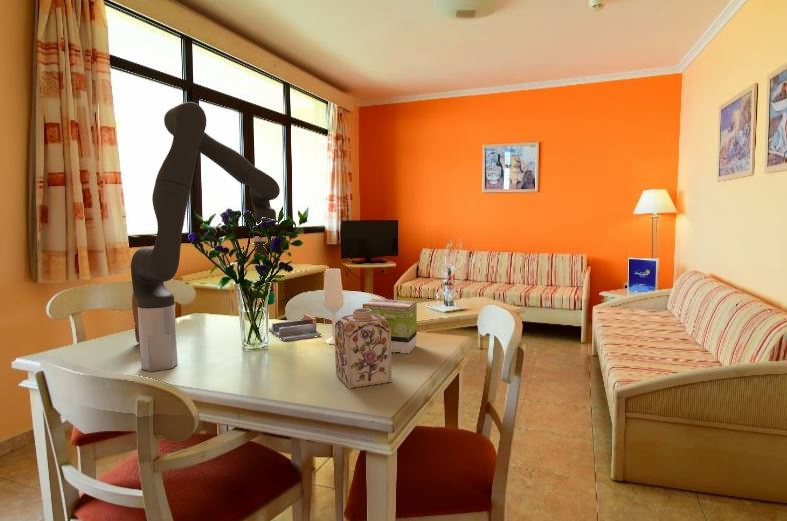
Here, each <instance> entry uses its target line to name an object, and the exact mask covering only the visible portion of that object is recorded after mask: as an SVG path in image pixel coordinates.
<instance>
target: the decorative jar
mask: <svg viewBox="0 0 787 521" xmlns="http://www.w3.org/2000/svg"><path fill="white" fill-rule="evenodd" d="M334 354H335V355H334V360H335V372H336V373H335V375H336V376H337V377H338V378H339V379H340V380H341V381H342V382H343V384H344V385H345V386H346V387H347V389H349V388H350V389H355V388H354V387H356V388H361V386H363V387H368V385H370V386H376V385H375V384H377V385H382V384H381V383H383V384H388V383H387V382H389V383H391V382H392V371H393V370H392V358H393V357H392V352H391V330H390V327H389V325H388V323H387V320H386V318H384V317H383V316H380V315H375V314H372V310H371V309H367V308H363V307H360V308H355V309H353V311H352V314H349V315H344V316H342V317H340V318H338V320H337V321H336V325H335V345H334Z"/></svg>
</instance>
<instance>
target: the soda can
mask: <svg viewBox="0 0 787 521" xmlns="http://www.w3.org/2000/svg"><path fill="white" fill-rule="evenodd" d="M259 278H260V276H259V275H258V279H259ZM275 289H276V287H275V282H273V291H272V292H270V295H269V300H268V305H270V306H271V305H273V304H275V303H276V297H275V296H276V290H275ZM268 305H267V306H268Z"/></svg>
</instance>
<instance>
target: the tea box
mask: <svg viewBox="0 0 787 521" xmlns="http://www.w3.org/2000/svg"><path fill="white" fill-rule="evenodd" d="M417 303H418V302H417V301H413V300H400V299H397V300H396V299H385V298H384V299H383V298H382V299H381V298H371V299H370V300H369V301H367V302H365V303H363V304H362V308H367V309H371V310H372V314H375V315H380V316H383V317H384V318H386V320H387V323H388V325H389V327H390V330H391V353H395V352H400V353H399V354H403V353H408V354H410V352H411V351H412V350H413V349H414V348H415V347H416V346H417V335H418V334H417V332H418V331H417V330H418V329H417V323H418V322H417V321H418V320H417V318H418V316H417V315H418V314H417V313H418V312H417V310H418V309H417V308H418V307H417V306H418V305H417Z"/></svg>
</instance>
